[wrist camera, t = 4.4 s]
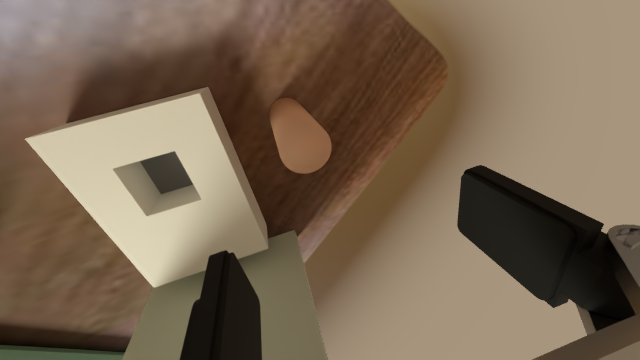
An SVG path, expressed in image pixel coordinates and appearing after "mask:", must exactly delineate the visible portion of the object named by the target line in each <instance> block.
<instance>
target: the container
mask: <svg viewBox="0 0 640 360" xmlns="http://www.w3.org/2000/svg"><path fill="white" fill-rule="evenodd" d="M124 354H125V352H111V351H95V350H79V349H63V348H47V347H30V346H12V345H0V360H122V359H123V356H124Z"/></svg>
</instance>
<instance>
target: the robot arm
mask: <svg viewBox="0 0 640 360" xmlns="http://www.w3.org/2000/svg"><path fill="white" fill-rule="evenodd" d="M603 225H604V224H603V223H601V222H599V221H597V220H595V219H593V218H591V217H588V216H586V215H584V214H582V213H580V212H578V211H576V210H574V209H572V208H570V207H568V206H566V205H564V204H561V203H559V202H557V201H555V200H553V199H551V198H549V197H547V196H545V195H543V194H541V193H539V192H537V191H535V190H533V189H531V188H528V187H526V186H524V185H522V184H520V183H518V182H516V181H514V180H512V179H510V178H508V177H506V176H503V175H501V174H499V173H497V172H495V171H493V170H491V169H489V168H487V167H485V166H482V165H480V166H476V167H473V168H470V169H467V170H465V172H464V175H462V177H461V189H460V200H459V212H458V229H459V230H460V232H461V233H462V234H463V235H464V236H466V237H467V238H468V239H469V240H470V241H471V242H472V243H474V244H475V245H476V246H477V247H478V248H479V249H481V250H482V251H483V252H484V253H485V254H486V255H488V256H489V257H490V258H491V259H492V260H494V261H495V262H496V263H497V264H498V265H499V266H501V267H502V268H503V269H504V270H505V271H506V272H508V273H509V274H510V275H511V276H512V277H513V278H514V279H516V280H517V281H518V282H519V283H520V284H521V285H523V286H524V287H525V288H526V289H527V290H529V291H530V292H531V293H532V294H533V295H534V296H536V297H537V298H539V299H541V300H544V301H546V302H547V303H548V304H549V305H550V306H552V307H553V308H554V307H557V306H560V305H562V304H564V303H567V302H568V299H570V300H572V301H573V302H574V303H576V306H577V308H578V311H579V314H580V317H581V320H582V322H583V325H584V328H585V330H586V333H587V336H585V337H583V338H581V339H578V340H576V341H574V342H572V343H569V344H567V345H565V346H563V347H560V348H558V349H555V350H553V351H551V352H549V353H546V354H544V355H542V356H539V357H537V358H535V359H533V360H640V226H637V225H617V226H614V227H612V228H610V229H609V231H608V233H607V234H605V233H603V232H601V229H602V227H603ZM180 360H262V342H261V310H260V301H259V298H258V296H257V294H256V292H255V290H254V288H253V287H252V285H251V283H250V281H249V279H248V277H247V276H246V274H245V272H244V270H243V268H242V266H241V265H240V263H239V261H238V259H237V257H236V256H235V254H234V253H233V252H231V253H229V252H228V251H227V250H224V251H221V252H218V253H215V254H212V255H210V256H209V258H208V263H207V268H206V272H205V277H204V281H203V286H202V291H201V295H200V299H198V300H196V301H195V302H194V303H193V306H192V309H191V314H190V318H189V322H188V326H187V330H186V335H185V339H184V343H183V347H182V351H181V355H180Z"/></svg>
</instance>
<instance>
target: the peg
mask: <svg viewBox="0 0 640 360" xmlns="http://www.w3.org/2000/svg"><path fill="white" fill-rule="evenodd" d="M269 118H270V122H271V126H272V129H273V133H274V136H275V140H276V143H277V147H278V151H279V154H280V158H281V160H282V162H283V163H284V165H285V166H286V167H287V168H288V169H290V170H292V171H294V172H296V173H302V174H306V173H312V172H314V171H316V170H318V169H320V168H321V167H322V166H323V165H324V164H325V163H326V162H327V161H328V159H329V157H330V154H331V149H332V145H331V140H330V137H329V135H328V133H327V132H326V131H325V130H324V129H323V128H322V127H321V126H320V125H319V124H318V123H317V122H316V120H315V119H314V118H313V117H312V116H311V115H310V114H309V113H308V112H307V111H306V110H305V109H304V108H303V107H302V106H301V105H300V104H299V103H298V102H297V101H296V100H294V99H292V98H288V97H284V98H280V99H278V100H276V101H275V102H274V103H273V104H272V106H271V107H270V110H269Z"/></svg>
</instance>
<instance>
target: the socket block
mask: <svg viewBox="0 0 640 360" xmlns="http://www.w3.org/2000/svg"><path fill="white" fill-rule="evenodd" d="M25 140H26V141H27V142H28V143H29V144H30V145H31V147H32V148H33V149H34V150H35V151H36V152H37V154H38V155H39V156H40V157H41V158H42V159H43V161H44V162H45V163H46V164H47V165H48V166H49V167H50V169H51V170H52V171H53V172H54V173H55V174H56V176H57V177H58V178H59V179H60V180H61V181H62V182H63V184H64V185H65V186H66V187H67V188H68V189H69V191H70V192H71V193H72V194H73V195H74V196H75V197H76V199H77V200H78V201H79V202H80V203H81V204H82V206H83V207H84V208H85V209H86V210H87V211H88V212H89V214H90V215H91V216H92V217H93V218H94V219H95V221H96V222H97V223H98V224H99V225H100V226H101V227H102V229H103V230H104V231H105V232H106V233H107V234H108V236H109V237H110V238H111V239H112V240H113V241H114V242H115V244H116V245H117V246H118V247H119V248H120V249H121V251H122V252H123V253H124V254H125V255H126V256H127V257H128V259H129V260H130V261H131V262H132V263H133V264H134V266H135V267H136V268H137V269H138V270H139V271H140V272H141V274H142V275H143V276H144V277H145V278H146V279H147V281H148V282H149V283H150V284H151V285H152V286H153V287H154V288H155V287H158V286H161V285H163V284H166V283H169V282H172V281H175V280H178V279H181V278H184V277H187V276H190V275H193V274H196V273H199V272H201V271H204V270H206V268H207V263H208V258H209V256H210V255H212V254H215V253H218V252H221V251H224V250H227V251H228V252H229V253H231V252H233V253H234V254H235V256H236V257H237V259H239V258H242V257H245V256H248V255H251V254H254V253H257V252H260V251H263V250H266V249H269V247H268V236H267V225H266V222H265V220H264V217H263V215H262V213H261V210H260V208H259V206H258V203H257V201H256V198H255V196H254V194H253V191H252V189H251V187H250V184H249V182H248V180H247V177H246V175H245V172H244V170H243V168H242V165H241V163H240V161H239V158H238V156H237V153H236V151H235V149H234V146H233V144H232V142H231V139H230V137H229V134H228V132H227V130H226V127H225V125H224V123H223V120H222V118H221V115H220V113H219V111H218V108H217V106H216V104H215V101H214V99H213V97H212V94H211V92H210V89H209V87H205V88H201V89H197V90H193V91H190V92H186V93H182V94H178V95H174V96H170V97H167V98H163V99H159V100H155V101H151V102H147V103H143V104H140V105H136V106H132V107H128V108H124V109H120V110H117V111H113V112H109V113H105V114H101V115H97V116H93V117H90V118H86V119H82V120H78V121H74V122H70V123H67V124H64V125H61V126H58V127H56V128H53V129H50V130H48V131H45V132H42V133H40V134H37V135H34V136H32V137H29V138H26V139H25Z"/></svg>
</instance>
